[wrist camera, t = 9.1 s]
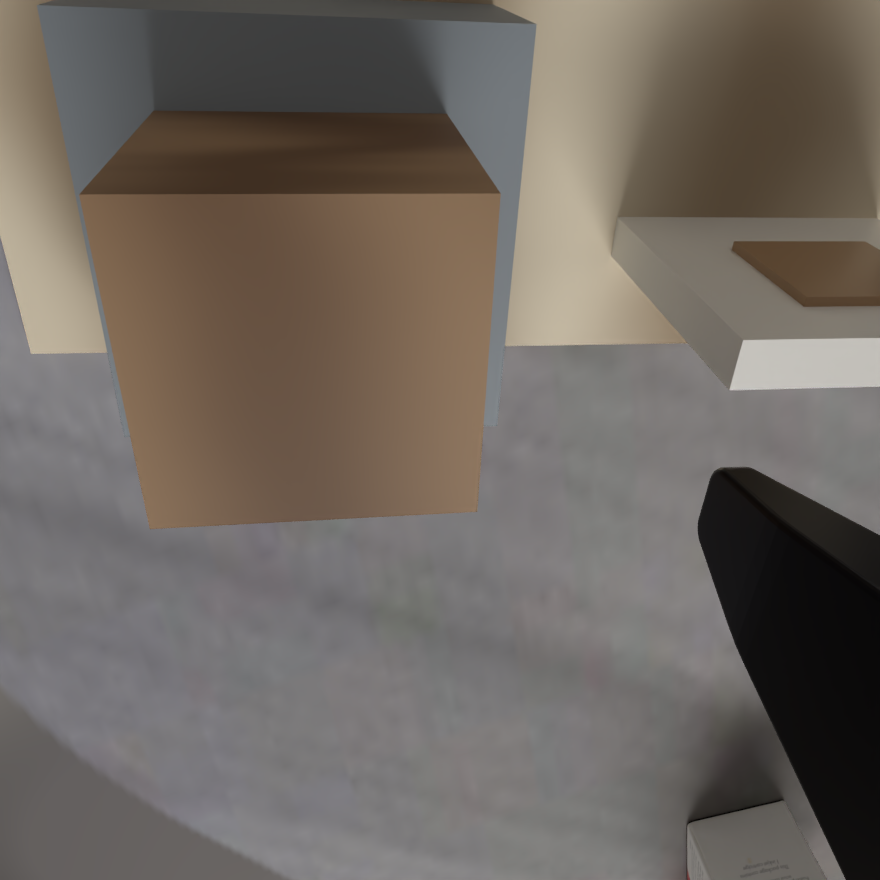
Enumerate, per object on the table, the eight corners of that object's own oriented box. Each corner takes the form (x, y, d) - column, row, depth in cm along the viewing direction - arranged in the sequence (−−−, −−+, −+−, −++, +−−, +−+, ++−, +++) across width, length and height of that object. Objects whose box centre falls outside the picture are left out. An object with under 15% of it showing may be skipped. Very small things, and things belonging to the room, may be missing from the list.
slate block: (493, 4, 17) (536, 24, 13) (469, 346, 21) (497, 426, 18) (96, -12, 16) (36, 5, 12) (157, 351, 20) (124, 437, 17)
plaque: (879, 210, 20) (1102, 324, 15) (864, 255, 21) (1072, 381, 15) (618, 208, 20) (746, 329, 14) (610, 255, 20) (729, 390, 14)
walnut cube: (446, 113, 14) (500, 192, 10) (438, 365, 17) (477, 511, 13) (153, 110, 13) (79, 194, 9) (193, 372, 16) (149, 528, 12)
